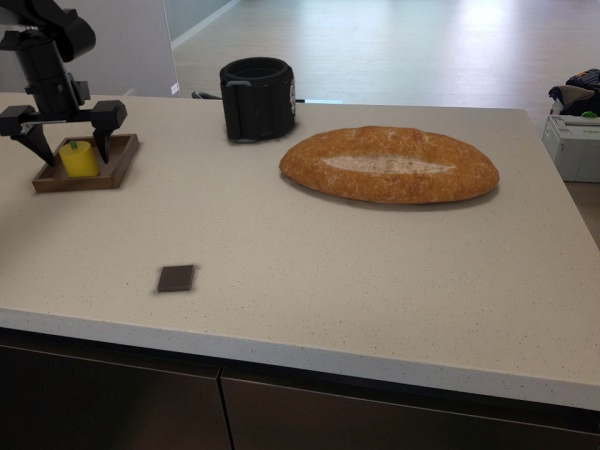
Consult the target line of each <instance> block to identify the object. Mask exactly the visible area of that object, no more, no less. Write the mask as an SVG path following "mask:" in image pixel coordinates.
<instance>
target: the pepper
mask: <svg viewBox="0 0 600 450" xmlns="http://www.w3.org/2000/svg"><path fill="white" fill-rule="evenodd" d="M59 154H60V157H61V159H62V162H63V164H64V166H65V169H66V171H67V174H68V176H69V177H81V176H96V175H98V173H99V171H100V170H99V167H98V164H97V162H96V159H95V156H94V153H93V150H92V148H91V145H90V143H88V142H85V141H77V142H75V141H70V142H69V144H66V145H64V146H63V147H61V148H60V149H59Z"/></svg>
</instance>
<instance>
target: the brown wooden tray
mask: <svg viewBox="0 0 600 450" xmlns="http://www.w3.org/2000/svg"><path fill="white" fill-rule="evenodd" d="M70 141H75V142H77V141H85V142H88V143H90V145H91V148H92V150H93V153H94V156H95V159H96V162H97V164H98V167H99V170H100V171H99V173H98V175H96V176H81V177H69V176H68V174H67V171H66V169H65V166H64V164H63V162H62V159H61V157H60V154H59V149H60V148H61V147H63V146H64V145H66V144H69V142H70ZM139 146H140V141H139V138H138V134H137V133H119V134H111V138H110V154H109V162H108V164H105V163H104V161H103V159H102V157H101V155H100V152H99V150H98V147H97V145H96V142H95V139H94V137H93V135H86V136H85V135H83V136H71V137H70V136H69V137H68V136H67V137H64V138H63V139H62V141H61V142H60V143H59V144H58V146H57V147H56V148H55V149H54V151H52V153H53V155H54V158H55V161H56V165H55V167H51V166H50V165H49V164H47V163H46V162H45V163H44V164H43V165H42V167H41V168H40V169H39V171H38V172H37V173H36V175H35V176H34V177H33V179H32V180H31V182H30V183H31V184H32V186H33V189H34V190H35V193H36V194H48V193H49V194H51V193H64V192H65V193H66V192H81V191H98V190H100V191H101V190H113V189H120V187H121V185H122V182H123V180H124V178H125V177H126V174H127V172H128V169H129V167H130V166H131V163H132V161H133V159H134V157H135V155H136V153H137V150H138V148H139Z"/></svg>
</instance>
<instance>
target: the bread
mask: <svg viewBox="0 0 600 450" xmlns="http://www.w3.org/2000/svg"><path fill="white" fill-rule="evenodd" d="M278 169H279V171H280V172H281V173H282V174H283V175H284V176H285V177H286V178H287V179H289V180H292V182H295V183H298V184H299V185H301V186H304V187H306V188H310V189H311V190H312V189H313V190H315V191H318V192H320V193H324V194H328V195H331V196H335V197H339V198H342V199H347V200H353V201H361V202H369V203H375V204H384V205H385V204H390V205H425V204H426V205H427V204H438V203H447V202H455V201H463V200H469V199H472V198H477V197H479V196H482V195H485V194H487V193H488V192H490V191H492V190H494V189H495V188H496V187H497V186H498V184H499V183H500V181H501V180H500V179H501V178H500V173H499V170H498V168H497V167H496V166H495V164H494V162H492V160H491V159H490V158H489V157H488V156H487V155H486V154H485V153H483V152H482V151H481V150H479V149H478V148H477V147H475V146H474V145H472V144H470V143H467V142H465V141H462V140H459V139H457V138H454V137H451V136H449V135H446V134H442V133H435V132H431V131H430V132H429V131H424V130H420V129H418V128H415V127H403V126H402V127H401V126H387V125H385V126H384V125H365V126H360V127H343V128H338V129H333V130H329V131H325V132H320V133H316V134H314V135H311V136H309V137H307V138H305V139H303V140H301V141H299V142H298V143H296V144H294V145H293V146H292V147H290V148H289V149H288V150H287V152H286V153H285V154H284V155H283V157H282V158H280V161H279V164H278Z"/></svg>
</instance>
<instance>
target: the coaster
mask: <svg viewBox="0 0 600 450" xmlns="http://www.w3.org/2000/svg"><path fill="white" fill-rule="evenodd" d="M194 270H195V266H194V264H187V265H171V266H170V265H169V266H163V267H162V269H161V273H160V277H159V281H158V284H157V288H156V290H157V292H158V293H162V292H165V293H166V292H178V291H179V292H181V291H190V290H191V287H192V281H193V276H194Z"/></svg>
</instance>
